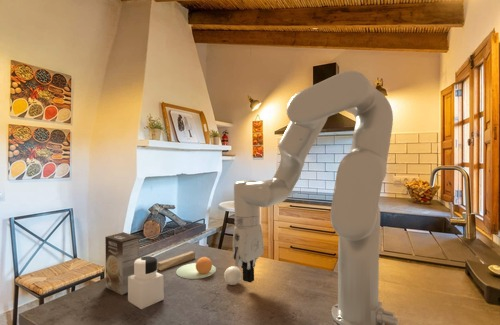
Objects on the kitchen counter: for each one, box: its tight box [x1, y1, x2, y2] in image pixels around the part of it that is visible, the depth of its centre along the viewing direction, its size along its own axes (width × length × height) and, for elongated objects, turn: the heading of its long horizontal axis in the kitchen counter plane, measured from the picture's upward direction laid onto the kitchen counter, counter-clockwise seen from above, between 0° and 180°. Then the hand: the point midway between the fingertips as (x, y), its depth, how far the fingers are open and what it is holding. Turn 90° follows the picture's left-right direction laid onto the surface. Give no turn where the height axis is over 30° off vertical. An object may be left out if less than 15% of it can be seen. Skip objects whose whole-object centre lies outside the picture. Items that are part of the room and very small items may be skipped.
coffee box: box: [105, 231, 140, 296], centre depth 89 cm, size 9×6×16 cm
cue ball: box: [223, 265, 243, 286], centre depth 91 cm, size 6×6×6 cm
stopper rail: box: [157, 250, 196, 271], centre depth 109 cm, size 2×16×2 cm, turn 142°
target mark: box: [176, 262, 217, 280], centre depth 102 cm, size 14×14×1 cm
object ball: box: [195, 256, 213, 274], centre depth 100 cm, size 6×6×6 cm
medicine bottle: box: [127, 255, 165, 310], centre depth 81 cm, size 7×7×12 cm
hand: (248, 280), depth 87 cm, fingers closed
